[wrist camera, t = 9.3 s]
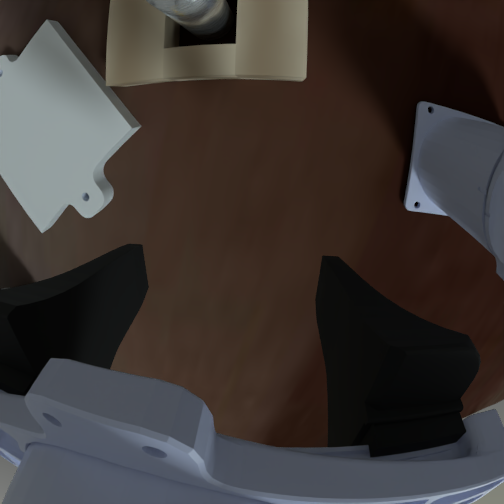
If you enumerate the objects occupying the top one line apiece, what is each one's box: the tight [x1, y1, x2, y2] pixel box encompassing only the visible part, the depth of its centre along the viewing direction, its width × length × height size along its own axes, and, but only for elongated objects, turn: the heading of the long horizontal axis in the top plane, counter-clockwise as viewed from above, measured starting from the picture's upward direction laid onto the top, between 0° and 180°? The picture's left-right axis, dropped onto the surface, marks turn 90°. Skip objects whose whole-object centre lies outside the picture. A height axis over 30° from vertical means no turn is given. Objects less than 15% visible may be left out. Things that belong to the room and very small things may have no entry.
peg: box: [146, 0, 234, 40], centre depth 12 cm, size 3×3×8 cm
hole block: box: [106, 0, 308, 86], centre depth 15 cm, size 12×8×3 cm, turn 88°
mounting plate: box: [0, 19, 141, 233], centre depth 19 cm, size 18×13×2 cm
